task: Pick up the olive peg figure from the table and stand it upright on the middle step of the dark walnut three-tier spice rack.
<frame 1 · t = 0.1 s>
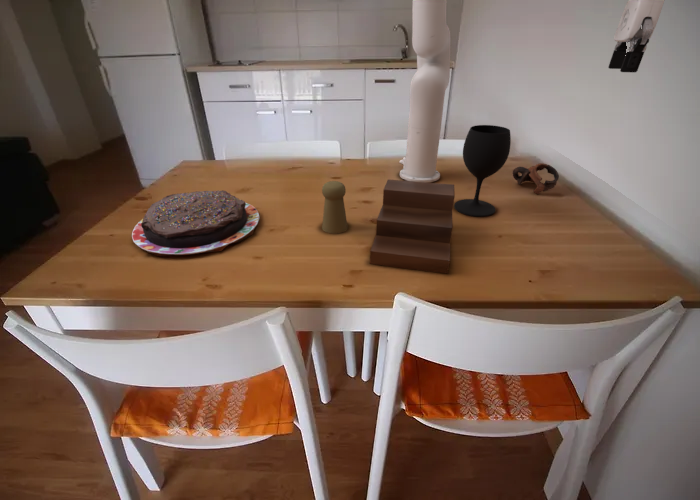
hand: (621, 70, 84), 31 cm above the table, tool pointing down, fingers open, 9 cm apart
spice rack: (412, 242, 77), on the table
chocolate cake: (200, 227, 84), on the table
brown twisted piece: (530, 188, 104), on the table
wine glass: (474, 209, 92), on the table
olive peg figure: (334, 228, 83), on the table
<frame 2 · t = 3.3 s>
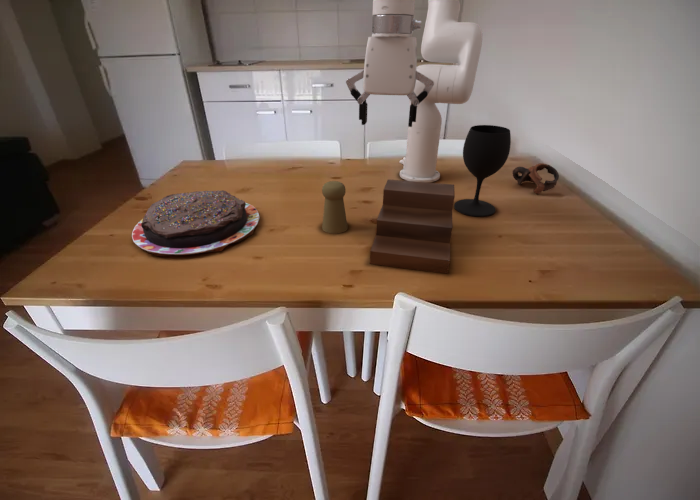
hand: (387, 124, 74), 23 cm above the table, tool pointing down, fingers open, 9 cm apart
nothing on the table moved.
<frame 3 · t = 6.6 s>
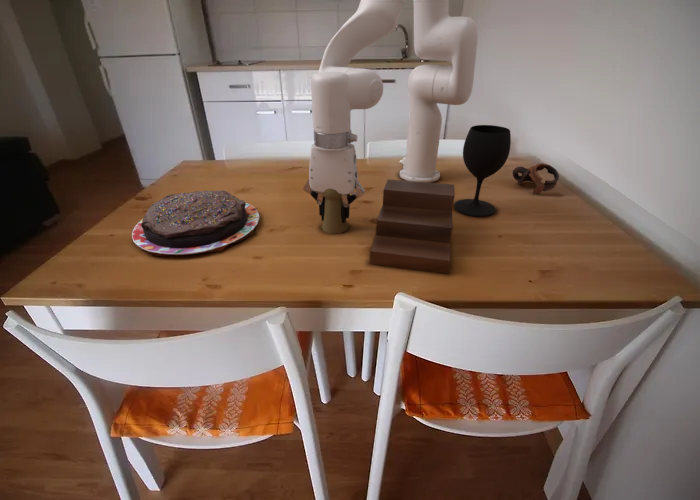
hand: (334, 218, 82), 2 cm above the table, tool pointing down, fingers closed on olive peg figure, 4 cm apart
olive peg figure: (334, 228, 83), on the table, touching gripper
everything else where it was.
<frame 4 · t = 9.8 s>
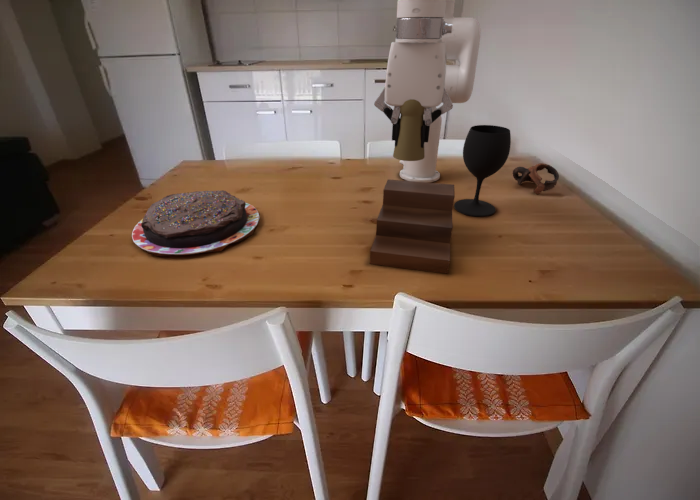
hand: (409, 144, 67), 21 cm above the table, tool pointing down, fingers closed on olive peg figure, 4 cm apart
olive peg figure: (408, 157, 69), point 18 cm above the table, touching gripper
everything else where it was.
when the fingers open (9 cm above the table, at t = 13.0 s): olive peg figure stays where it is, resting on spice rack.
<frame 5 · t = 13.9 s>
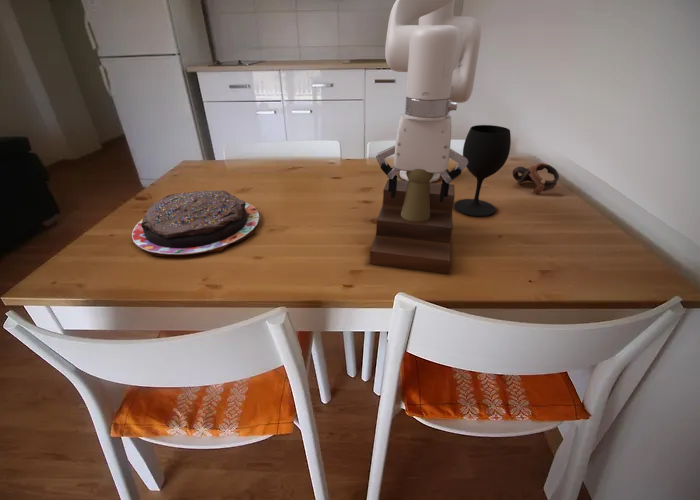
hand: (417, 197, 72), 10 cm above the table, tool pointing down, fingers open, 9 cm apart
olive peg figure: (415, 216, 74), point 6 cm above the table, touching spice rack
everything else where it was.
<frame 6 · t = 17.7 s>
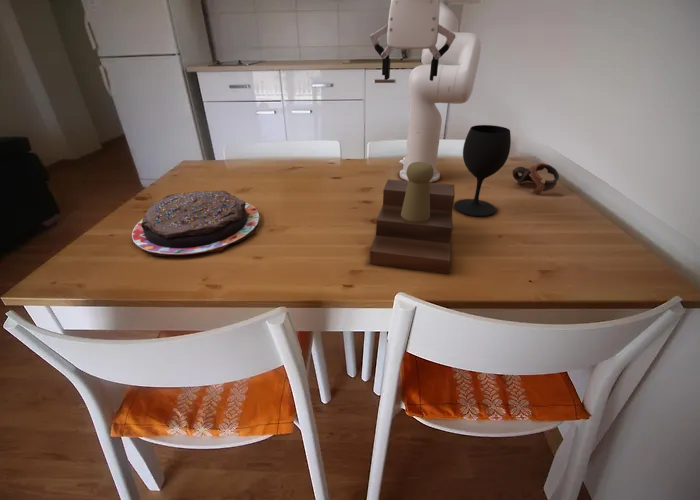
hand: (408, 79, 77), 30 cm above the table, tool pointing down, fingers open, 9 cm apart
nothing on the table moved.
at the end: olive peg figure 0.0 cm off-centre on the spice rack, point 6.3 cm above the spice rack's base; olive peg figure tilted 0°; the gripper is holding nothing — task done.
